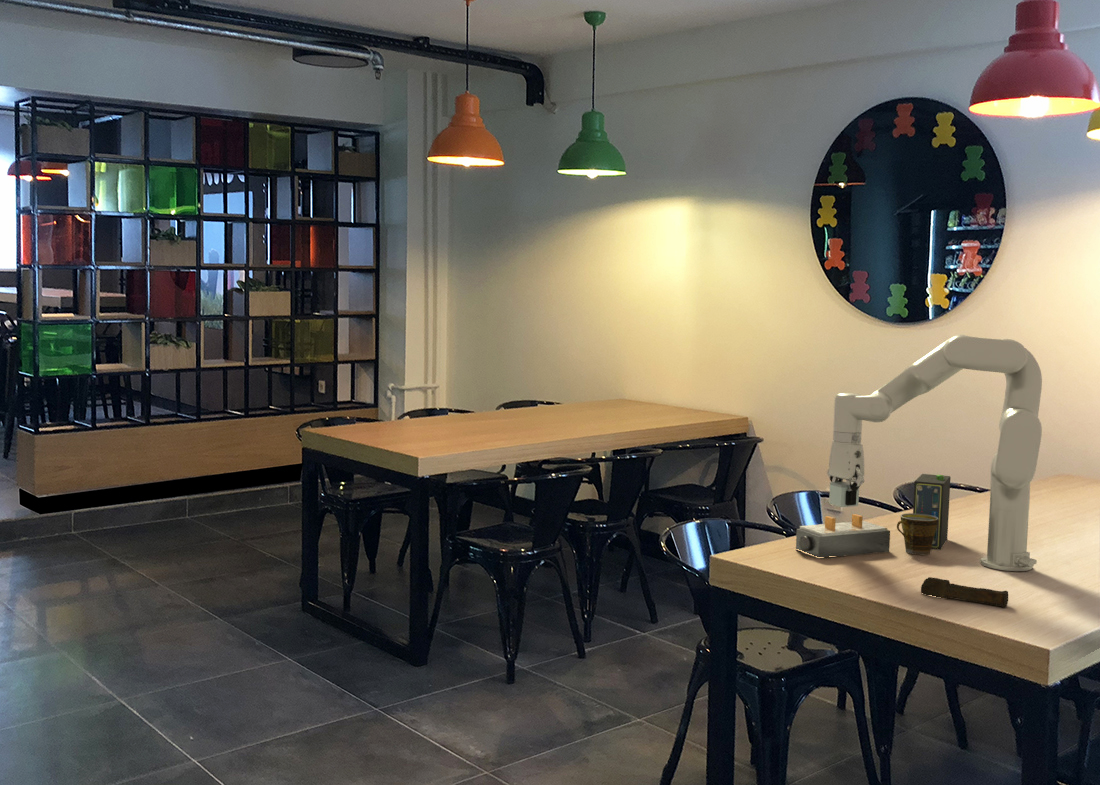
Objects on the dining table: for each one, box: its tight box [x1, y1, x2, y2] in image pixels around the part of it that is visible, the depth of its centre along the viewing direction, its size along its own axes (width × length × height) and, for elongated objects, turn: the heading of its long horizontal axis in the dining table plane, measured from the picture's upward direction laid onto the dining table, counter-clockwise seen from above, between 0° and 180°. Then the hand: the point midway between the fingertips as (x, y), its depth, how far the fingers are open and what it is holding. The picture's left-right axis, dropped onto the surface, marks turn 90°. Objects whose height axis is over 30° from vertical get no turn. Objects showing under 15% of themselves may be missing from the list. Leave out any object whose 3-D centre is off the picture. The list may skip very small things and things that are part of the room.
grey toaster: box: [795, 513, 891, 557], centre depth 285 cm, size 10×25×10 cm, turn 112°
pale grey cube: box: [828, 481, 860, 508], centre depth 285 cm, size 5×6×6 cm
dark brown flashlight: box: [920, 576, 1009, 609], centre depth 239 cm, size 19×4×5 cm, turn 56°
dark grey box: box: [912, 473, 951, 551], centre depth 297 cm, size 8×18×20 cm, turn 152°
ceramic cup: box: [896, 512, 939, 556], centre depth 285 cm, size 13×10×10 cm
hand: (843, 502), depth 285 cm, fingers closed on pale grey cube, 5 cm apart
